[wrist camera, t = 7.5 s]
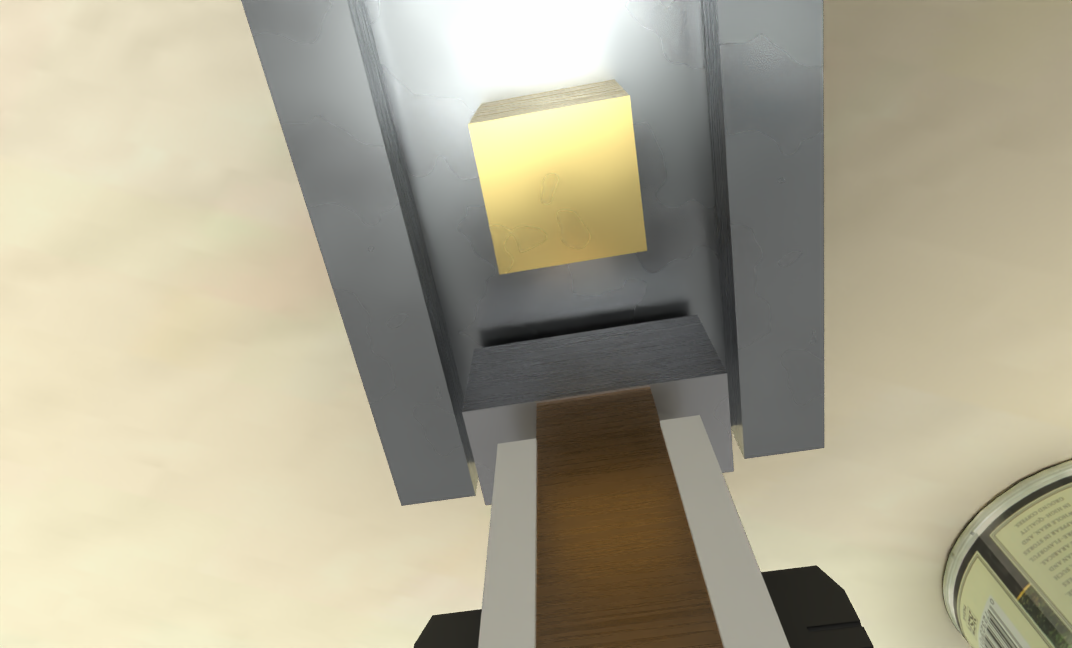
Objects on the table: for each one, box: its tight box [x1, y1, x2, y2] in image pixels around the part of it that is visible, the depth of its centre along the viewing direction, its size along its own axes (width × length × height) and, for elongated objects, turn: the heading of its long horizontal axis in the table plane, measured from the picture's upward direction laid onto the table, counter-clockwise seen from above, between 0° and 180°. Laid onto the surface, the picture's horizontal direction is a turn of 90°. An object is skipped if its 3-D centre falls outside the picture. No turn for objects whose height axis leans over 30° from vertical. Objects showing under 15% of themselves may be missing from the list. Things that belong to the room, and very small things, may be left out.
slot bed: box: [241, 0, 824, 506], centre depth 16 cm, size 12×20×6 cm, turn 10°
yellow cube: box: [468, 80, 647, 275], centre depth 15 cm, size 3×3×3 cm
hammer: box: [462, 315, 734, 648], centre depth 12 cm, size 6×2×12 cm, turn 100°
